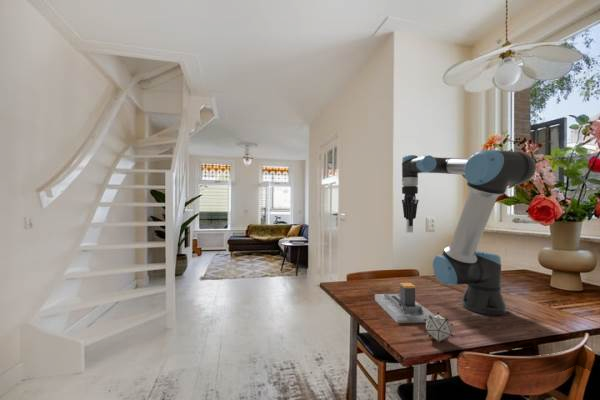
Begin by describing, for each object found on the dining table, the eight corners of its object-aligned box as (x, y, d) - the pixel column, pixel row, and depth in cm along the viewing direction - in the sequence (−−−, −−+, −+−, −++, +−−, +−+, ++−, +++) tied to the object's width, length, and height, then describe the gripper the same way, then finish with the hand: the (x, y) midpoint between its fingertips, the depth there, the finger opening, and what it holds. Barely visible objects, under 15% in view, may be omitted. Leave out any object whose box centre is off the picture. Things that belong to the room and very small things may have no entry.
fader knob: (398, 305, 110) (398, 282, 110) (410, 305, 110) (410, 282, 110) (404, 310, 105) (404, 286, 105) (416, 309, 105) (416, 286, 105)
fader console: (374, 299, 124) (374, 289, 124) (405, 299, 125) (405, 289, 125) (397, 322, 100) (397, 310, 100) (435, 322, 101) (435, 309, 101)
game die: (445, 354, 86) (466, 336, 81) (420, 345, 86) (440, 326, 81) (436, 328, 94) (455, 310, 89) (413, 320, 94) (431, 301, 89)
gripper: (397, 186, 149) (396, 231, 149) (409, 185, 136) (409, 233, 136) (410, 186, 150) (410, 231, 150) (423, 185, 137) (423, 233, 137)
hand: (409, 232), depth 143 cm, fingers closed
